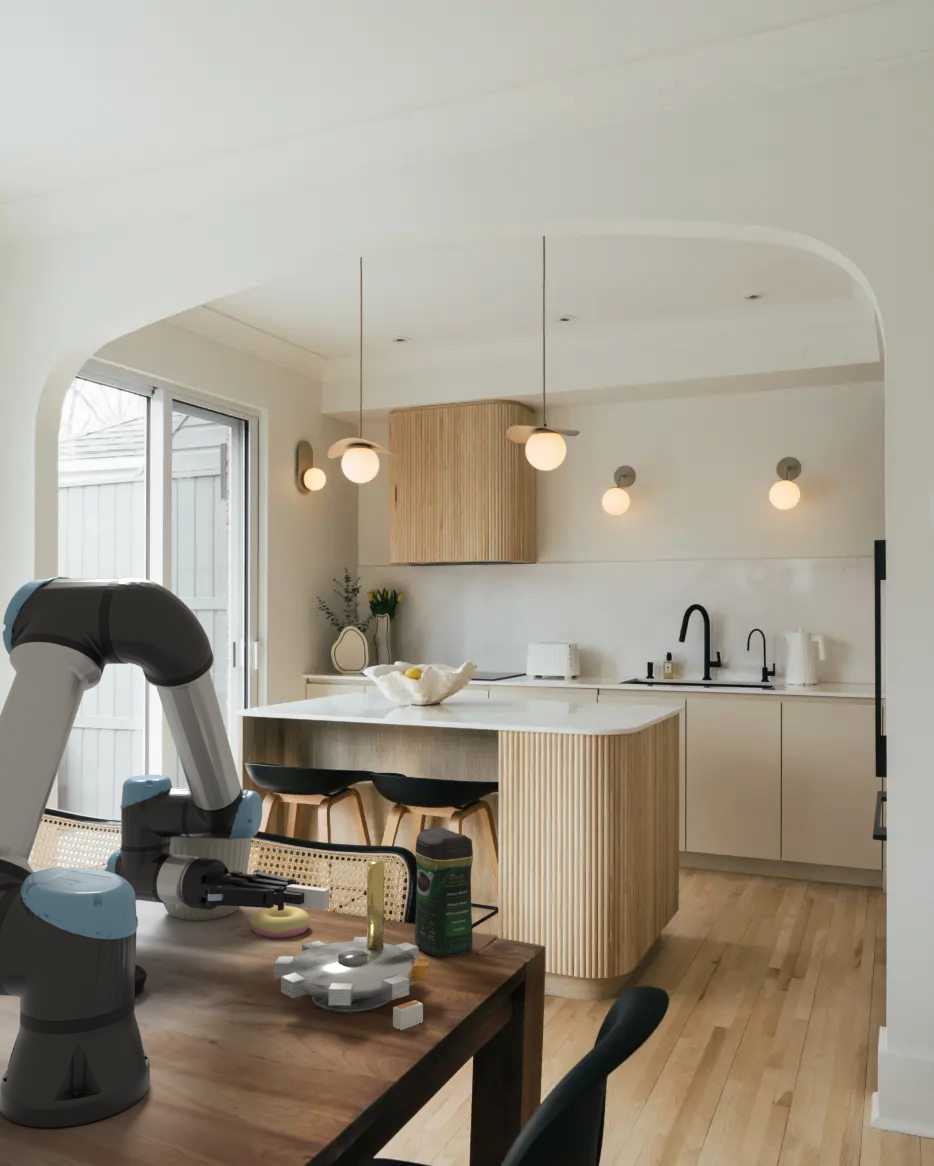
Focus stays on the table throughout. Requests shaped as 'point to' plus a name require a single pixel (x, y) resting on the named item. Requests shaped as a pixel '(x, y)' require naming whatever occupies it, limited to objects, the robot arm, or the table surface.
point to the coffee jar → (443, 892)
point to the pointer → (407, 1015)
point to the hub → (352, 1004)
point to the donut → (280, 922)
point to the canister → (220, 849)
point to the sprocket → (355, 960)
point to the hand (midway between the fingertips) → (326, 899)
